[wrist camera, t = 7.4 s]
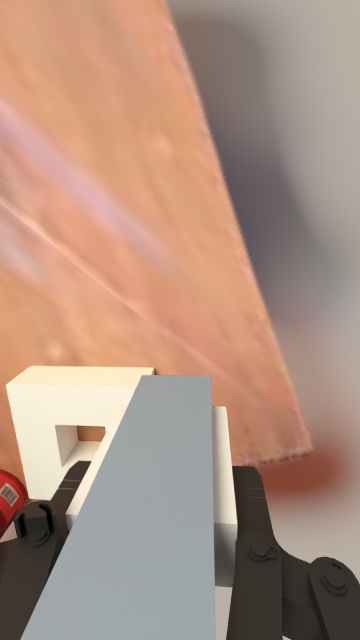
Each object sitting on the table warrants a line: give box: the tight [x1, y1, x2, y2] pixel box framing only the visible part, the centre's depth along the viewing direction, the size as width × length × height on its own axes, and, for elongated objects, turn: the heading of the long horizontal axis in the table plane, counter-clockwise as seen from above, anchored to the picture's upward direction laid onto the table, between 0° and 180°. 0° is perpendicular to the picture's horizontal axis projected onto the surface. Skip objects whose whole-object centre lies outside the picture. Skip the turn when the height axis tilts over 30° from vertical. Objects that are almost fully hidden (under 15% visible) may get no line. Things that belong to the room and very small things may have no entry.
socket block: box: [6, 366, 154, 500], centre depth 38 cm, size 16×16×5 cm
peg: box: [21, 375, 216, 640], centre depth 12 cm, size 4×4×13 cm
